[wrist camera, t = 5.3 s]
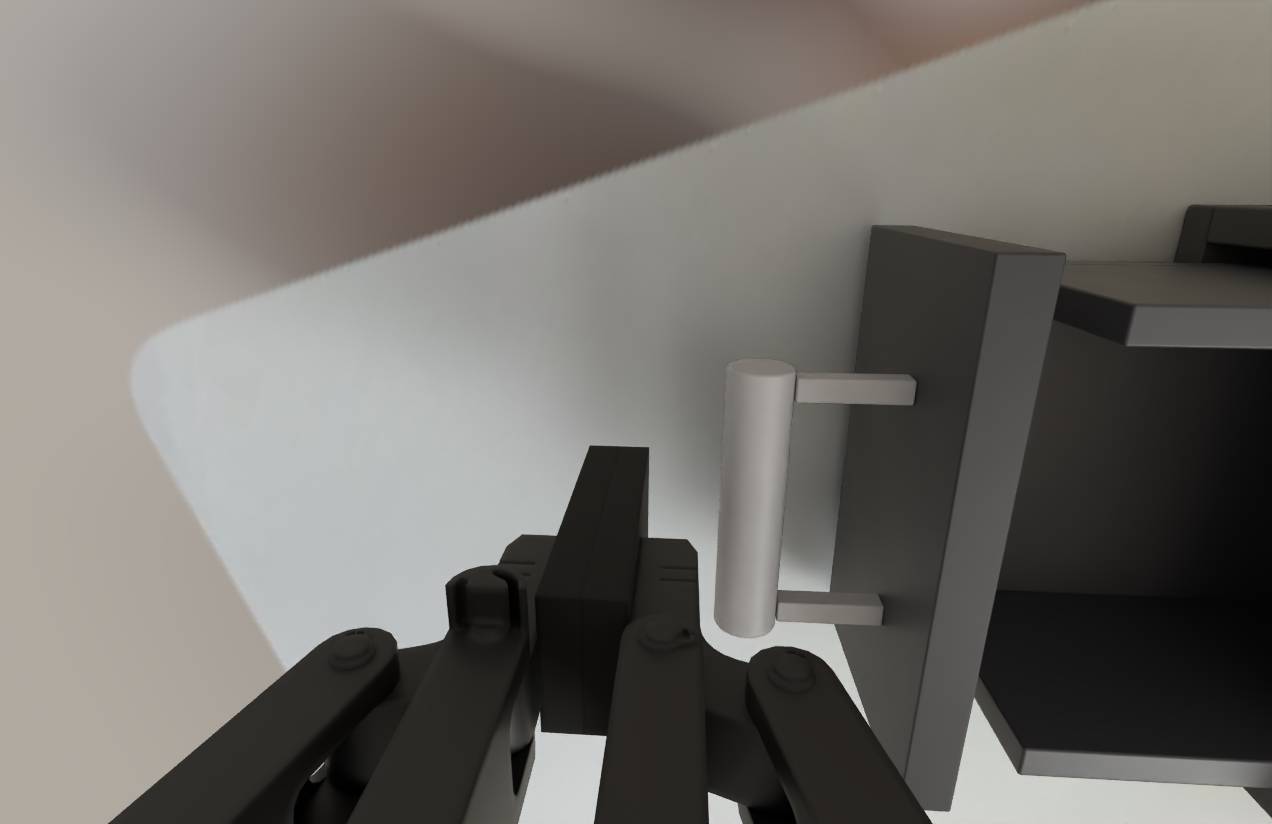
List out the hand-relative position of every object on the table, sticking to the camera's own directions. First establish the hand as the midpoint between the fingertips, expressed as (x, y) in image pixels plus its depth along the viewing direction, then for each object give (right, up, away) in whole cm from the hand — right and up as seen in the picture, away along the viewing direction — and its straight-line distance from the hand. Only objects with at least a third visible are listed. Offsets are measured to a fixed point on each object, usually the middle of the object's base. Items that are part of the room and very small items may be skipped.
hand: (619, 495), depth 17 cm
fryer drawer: (+12, +1, +4) cm, 13 cm away
